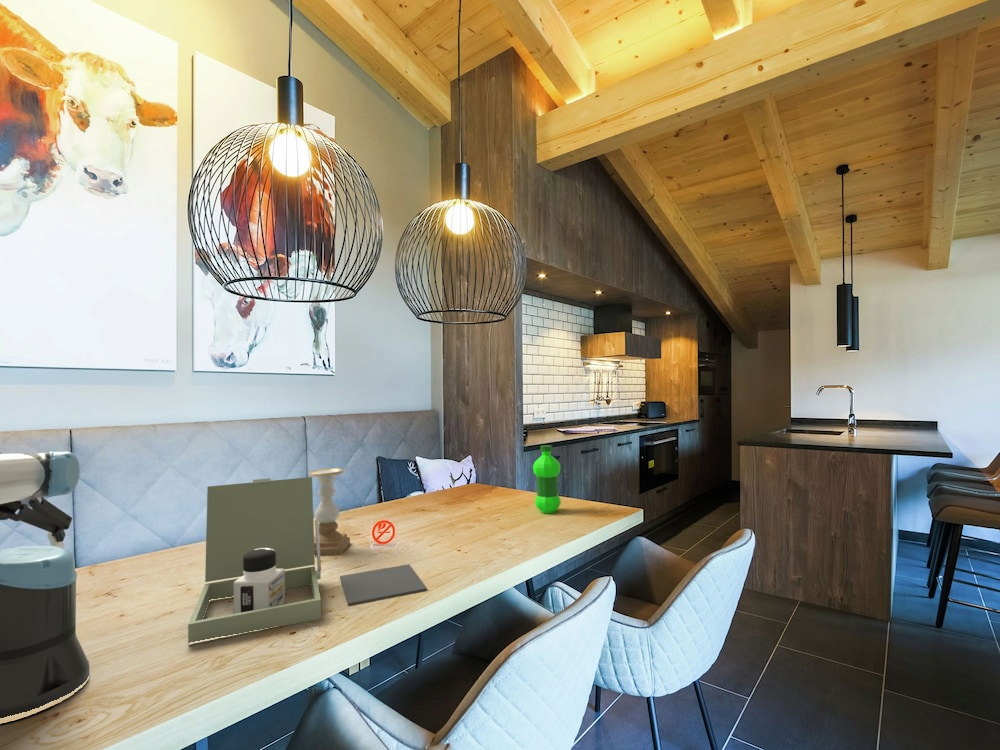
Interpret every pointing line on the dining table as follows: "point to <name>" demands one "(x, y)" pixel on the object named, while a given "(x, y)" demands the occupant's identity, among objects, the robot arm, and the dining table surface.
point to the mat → (381, 584)
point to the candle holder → (328, 514)
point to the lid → (259, 524)
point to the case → (259, 617)
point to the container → (259, 582)
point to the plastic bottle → (547, 481)
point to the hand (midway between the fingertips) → (18, 556)
